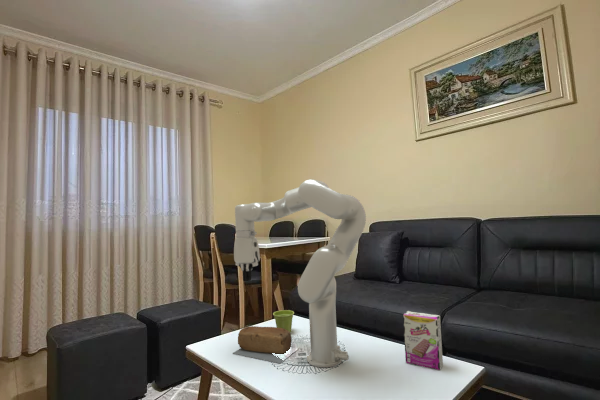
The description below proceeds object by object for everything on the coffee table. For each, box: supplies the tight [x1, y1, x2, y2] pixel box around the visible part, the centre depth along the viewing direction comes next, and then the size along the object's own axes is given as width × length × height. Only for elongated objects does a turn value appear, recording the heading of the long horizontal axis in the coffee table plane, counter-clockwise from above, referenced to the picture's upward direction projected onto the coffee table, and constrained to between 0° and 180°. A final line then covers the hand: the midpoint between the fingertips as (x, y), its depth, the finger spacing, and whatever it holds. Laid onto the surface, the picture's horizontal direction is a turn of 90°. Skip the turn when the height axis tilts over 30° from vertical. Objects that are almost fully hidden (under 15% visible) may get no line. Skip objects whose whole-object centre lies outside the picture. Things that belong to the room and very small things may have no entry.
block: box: [237, 325, 292, 354], centre depth 127 cm, size 11×8×20 cm
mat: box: [232, 347, 284, 365], centre depth 125 cm, size 22×14×1 cm, turn 61°
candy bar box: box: [402, 310, 444, 371], centre depth 109 cm, size 11×5×16 cm, turn 56°
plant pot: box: [272, 309, 295, 333], centre depth 144 cm, size 9×9×9 cm
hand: (247, 280), depth 130 cm, fingers closed
